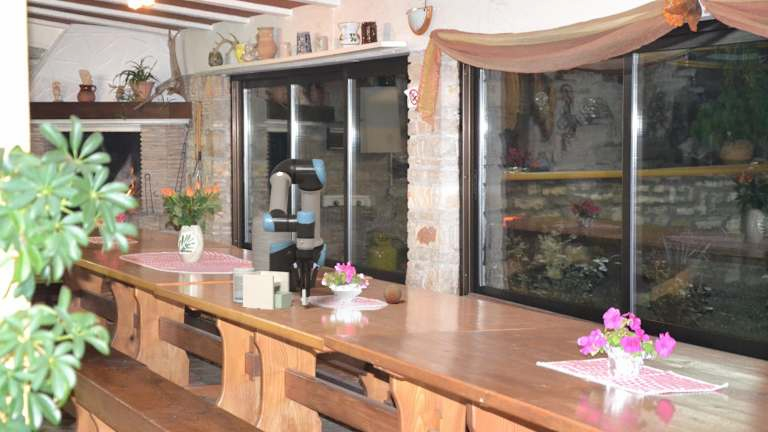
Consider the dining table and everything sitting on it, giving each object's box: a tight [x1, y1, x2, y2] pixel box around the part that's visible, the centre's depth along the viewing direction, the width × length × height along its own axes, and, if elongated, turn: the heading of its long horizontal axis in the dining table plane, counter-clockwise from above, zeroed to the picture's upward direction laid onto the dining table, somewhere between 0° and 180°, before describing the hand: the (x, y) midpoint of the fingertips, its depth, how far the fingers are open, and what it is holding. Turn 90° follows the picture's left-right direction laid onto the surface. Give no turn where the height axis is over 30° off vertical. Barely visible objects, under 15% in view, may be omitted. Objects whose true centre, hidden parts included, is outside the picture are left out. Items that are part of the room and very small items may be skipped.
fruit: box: [383, 284, 403, 305], centre depth 459 cm, size 8×8×8 cm
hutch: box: [242, 271, 289, 310], centre depth 446 cm, size 15×14×14 cm
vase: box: [251, 211, 292, 272], centre depth 547 cm, size 20×20×34 cm
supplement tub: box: [232, 267, 255, 304], centre depth 456 cm, size 10×10×15 cm
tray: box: [273, 291, 293, 310], centre depth 445 cm, size 10×14×6 cm
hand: (305, 304), depth 439 cm, fingers closed
